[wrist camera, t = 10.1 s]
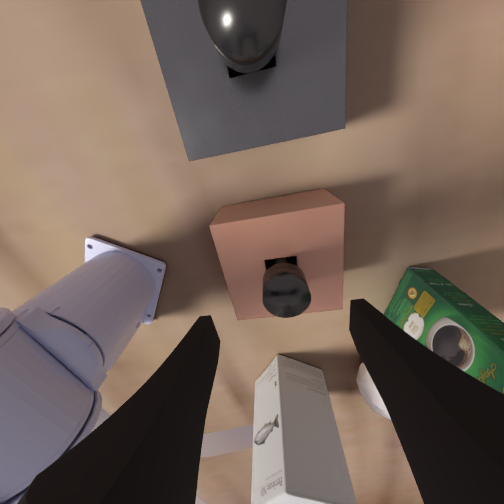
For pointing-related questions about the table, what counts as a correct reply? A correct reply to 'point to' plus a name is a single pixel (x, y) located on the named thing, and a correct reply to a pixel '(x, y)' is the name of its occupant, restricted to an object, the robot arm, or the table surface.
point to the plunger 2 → (285, 289)
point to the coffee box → (450, 324)
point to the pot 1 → (252, 78)
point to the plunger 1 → (244, 30)
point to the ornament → (370, 392)
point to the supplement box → (296, 439)
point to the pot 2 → (282, 247)
